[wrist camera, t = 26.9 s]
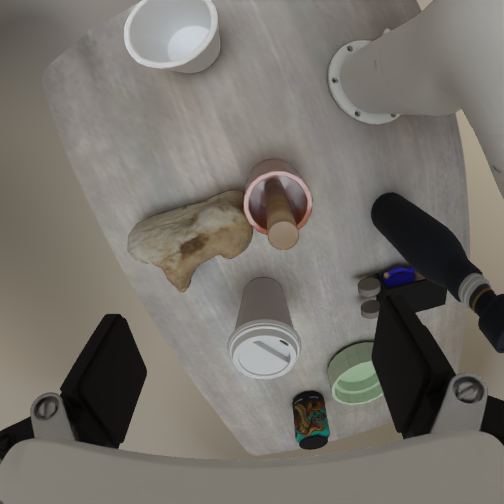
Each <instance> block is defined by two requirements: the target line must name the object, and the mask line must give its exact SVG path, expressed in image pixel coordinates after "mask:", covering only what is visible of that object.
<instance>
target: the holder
mask: <svg viewBox="0 0 504 504" xmlns="http://www.w3.org/2000/svg"><path fill="white" fill-rule="evenodd" d="M273 178H274V179H278V180H279V181H281V183H282V185H283V188H284V190H285V193H286V196H287V199H288V202H289V205H290V208H291V211H292V214H293V217H294V220H295V223H296V226H297V229H298V230H299V229H300V228H302V227H303V226H304V225H305V224H306V222H307V220H308V219H309V217H310V215H311V212H312V202H313V199H312V196H311V193H310V190H309V187H308V186H307V184H306V183H305V181H304V180H303V179H302V177H301V176H300V174H299V173H298V172H297V171H296V169H295V168H294V167H293V166H292V165H291V164H289V163H288V162H286V161H283V160H280V159H268V160H264V161H262V162H260V163H259V164H257V165H256V166H255V167H254V168H253V169H252V170H251V172H250V174H249V176H248V179H247V182H246V187H245V193H244V213H245V215H246V217H247V220H248V222H249V223H250V224H251V225H252V226H253V227H254V228H255V229H256V230H257V231H258V232H260V233H263V234H265V235H268V232H267V219H266V205H265V193H264V185H265V183H266V182H267V181H268V180H269V179H273Z"/></svg>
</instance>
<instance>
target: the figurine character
mask: <svg viewBox="0 0 504 504" xmlns="http://www.w3.org/2000/svg"><path fill="white" fill-rule="evenodd" d="M400 271H402V272H406V273H401V274H396V275H393V274H395V273H397V272H400ZM390 275H391V276H390ZM358 292H359V294H360V295H362V296H366V297H370V296H375V295H376V300H370V301H366V302H364V303H363V304H362V305H361V315H362V316H363V317H364V318H367V319H374V318H377V317H378V315H379V308H380V302H381V300H384V299H385V297H386V295H391V294H398V293H401V294H402V295H403V296H404V297H405V299H406V300H407V302H408V303H409V305H410V306H411V308H412V309H413V311H414V312H415V313H416V312H419V311H423V310H427V309H430V308H434V307H437V306H441V305H444V304H445V301H446V294H447V288H445V287H443V286H440V285H437V284H435V283H432V282H431V281H429V280H428V279H426V278H425V277H423V276H422V275H420V274H419V273H418V272H416V271H415V270H414V269H413V267H411V268H410V269H408V268H403V267H398V268H396V269H394V270H391V271H389V272H385V273H384V277H383V276H381V275H380V274H379V273H377V274H376V276H374V277H369V278H366V279H363V280H361V281H360V282H359V283H358Z"/></svg>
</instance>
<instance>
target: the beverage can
mask: <svg viewBox="0 0 504 504" xmlns="http://www.w3.org/2000/svg"><path fill="white" fill-rule="evenodd" d="M293 414H294V425H295V437H296V441H297V442H298V443H299V446H300V447H301V448H303V449H309V450H311V449H317V448H320V447H323V446H324V445H326V444H327V442H328V437H329V435H330V431H329V425H328V419H327V414H326V408H325V403H324V398H323V397H322V396H321V395H320V394H318V393H315V392H306V393H302V394H300V395H299V396H297V397H296V398H295V399H294V401H293Z"/></svg>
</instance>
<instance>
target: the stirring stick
mask: <svg viewBox="0 0 504 504" xmlns="http://www.w3.org/2000/svg"><path fill="white" fill-rule="evenodd" d="M264 193H265V205H266V219H267V232H268V240H269V242H270V244H271V245H272V246H273V247H275V248H277V249H280V250H286V249H289V248H291V247H293V246H294V245H295V244H296V243H297V241H298V238H299V232H298V229H297V226H296V223H295V220H294V217H293V214H292V211H291V208H290V205H289V202H288V199H287V196H286V193H285V190H284V188H283V185H282V183H281V181H279V180H278V179H274V178H273V179H269V180H268V181H267V182H266V183H265V185H264Z"/></svg>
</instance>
